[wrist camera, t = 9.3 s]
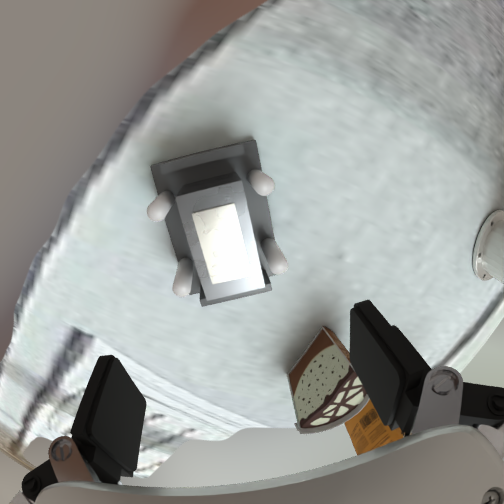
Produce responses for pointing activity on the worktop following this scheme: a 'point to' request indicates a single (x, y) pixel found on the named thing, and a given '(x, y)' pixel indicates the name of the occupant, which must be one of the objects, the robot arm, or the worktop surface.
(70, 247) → the worktop surface
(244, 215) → the block
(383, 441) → the coffee package
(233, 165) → the grey pegged block
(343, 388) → the food container
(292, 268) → the worktop surface
